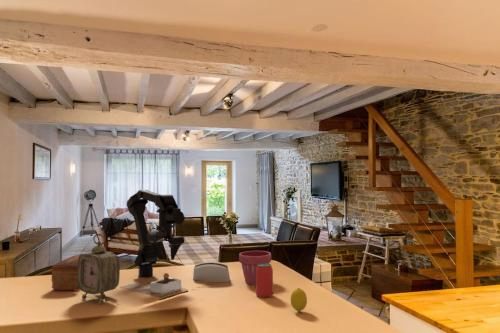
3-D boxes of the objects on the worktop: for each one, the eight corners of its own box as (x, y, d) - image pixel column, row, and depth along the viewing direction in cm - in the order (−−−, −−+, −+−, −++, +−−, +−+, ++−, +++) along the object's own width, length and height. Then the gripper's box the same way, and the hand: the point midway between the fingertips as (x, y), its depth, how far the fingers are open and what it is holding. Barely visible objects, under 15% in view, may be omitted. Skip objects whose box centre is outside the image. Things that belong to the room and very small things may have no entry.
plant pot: (234, 284, 163) (234, 254, 163) (246, 277, 176) (246, 249, 176) (265, 287, 157) (264, 256, 158) (275, 279, 170) (275, 251, 171)
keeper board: (119, 289, 156) (119, 269, 156) (146, 282, 167) (146, 264, 168) (160, 300, 141) (160, 278, 141) (187, 291, 152) (187, 271, 152)
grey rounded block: (230, 279, 172) (229, 259, 169) (229, 285, 168) (228, 265, 165) (194, 279, 173) (193, 259, 170) (192, 285, 168) (191, 265, 165)
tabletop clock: (77, 299, 142) (78, 233, 144) (98, 294, 150) (99, 231, 151) (99, 306, 134) (100, 236, 135) (121, 299, 142) (121, 233, 143)
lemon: (289, 309, 129) (289, 286, 129) (305, 309, 129) (304, 285, 130) (292, 315, 123) (292, 290, 124) (308, 314, 124) (308, 289, 124)
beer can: (275, 294, 148) (274, 263, 148) (270, 299, 141) (270, 266, 142) (259, 292, 150) (258, 262, 150) (253, 297, 143) (253, 265, 144)
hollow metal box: (150, 292, 147) (150, 282, 147) (169, 287, 155) (169, 277, 156) (162, 295, 143) (162, 285, 143) (181, 289, 151) (181, 279, 152)
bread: (45, 292, 153) (45, 262, 154) (80, 276, 181) (80, 250, 182) (78, 292, 152) (78, 262, 153) (108, 276, 180) (108, 250, 181)
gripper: (137, 223, 165) (136, 259, 164) (165, 225, 154) (165, 264, 153) (156, 221, 174) (156, 255, 173) (185, 223, 163) (185, 259, 162)
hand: (165, 258), depth 165 cm, fingers open, 9 cm apart
